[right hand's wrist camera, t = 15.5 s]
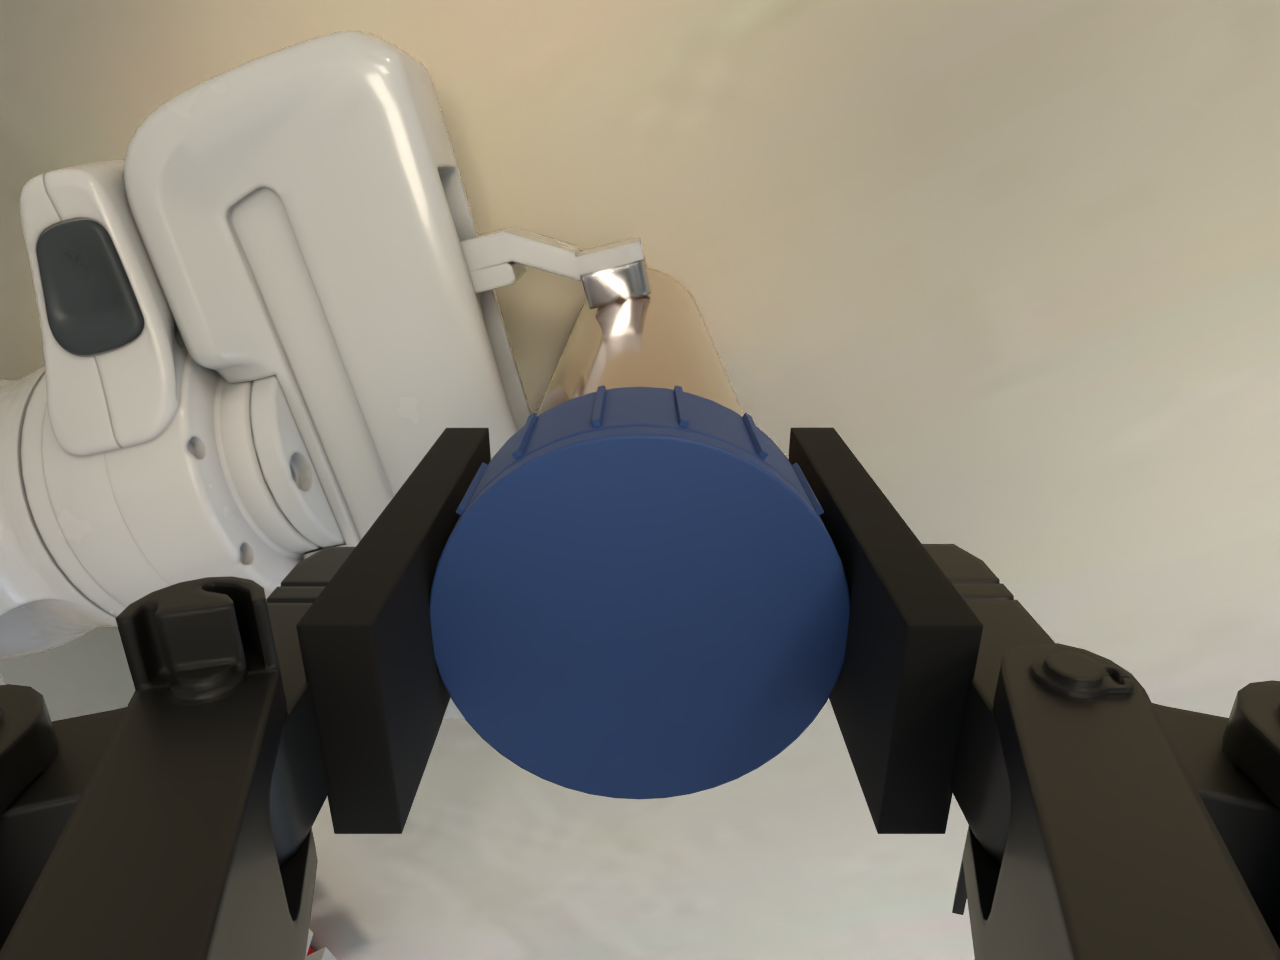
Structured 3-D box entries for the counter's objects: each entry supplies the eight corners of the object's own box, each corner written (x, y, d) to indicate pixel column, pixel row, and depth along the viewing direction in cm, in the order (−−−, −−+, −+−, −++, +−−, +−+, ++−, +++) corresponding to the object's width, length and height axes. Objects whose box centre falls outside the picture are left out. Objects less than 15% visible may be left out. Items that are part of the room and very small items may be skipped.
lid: (832, 382, 11) (877, 431, 9) (802, 701, 13) (834, 802, 11) (447, 382, 11) (402, 431, 9) (476, 701, 13) (444, 801, 11)
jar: (720, 364, 30) (853, 685, 11) (607, 410, 30) (556, 784, 12) (674, 247, 28) (741, 393, 10) (557, 298, 29) (407, 525, 10)
